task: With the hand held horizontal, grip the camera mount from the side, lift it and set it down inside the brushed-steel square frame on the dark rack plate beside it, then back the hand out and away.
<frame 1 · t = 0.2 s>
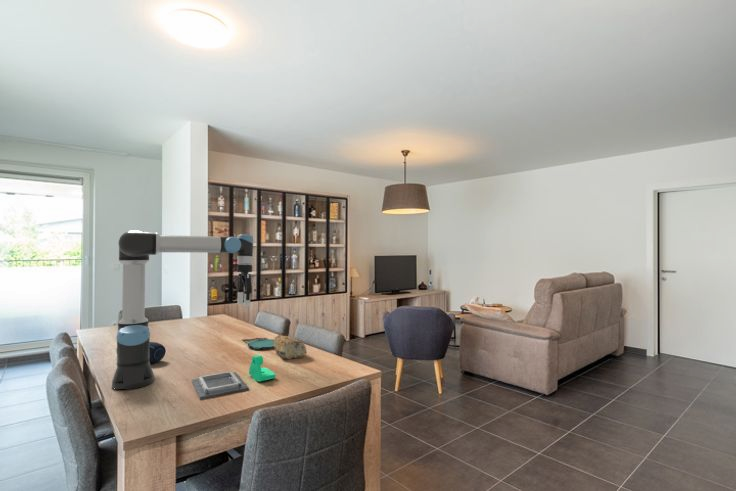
hand: (243, 305, 194), 27 cm above the table, tool pointing down, fingers open, 13 cm apart
camera mount: (262, 378, 165), on the table
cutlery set: (262, 345, 222), on the table
portable speaker: (140, 361, 189), on the table
rack plate: (219, 385, 155), on the table
petrified wood: (288, 355, 199), on the table
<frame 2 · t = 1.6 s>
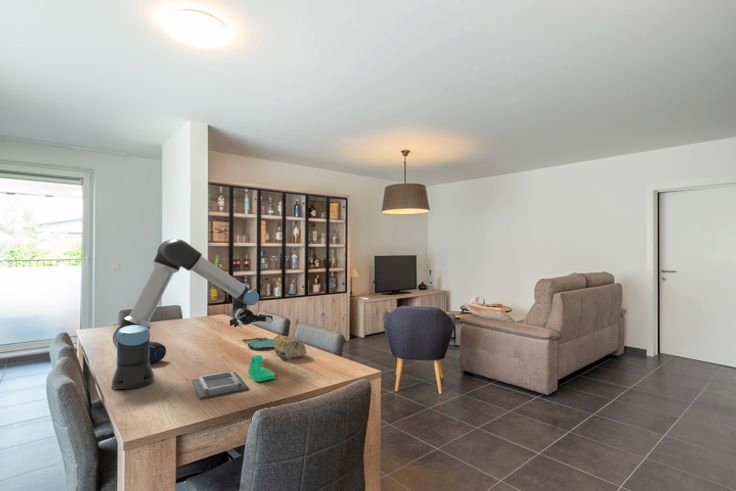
hand: (256, 323, 173), 22 cm above the table, tool horizontal, fingers open, 13 cm apart
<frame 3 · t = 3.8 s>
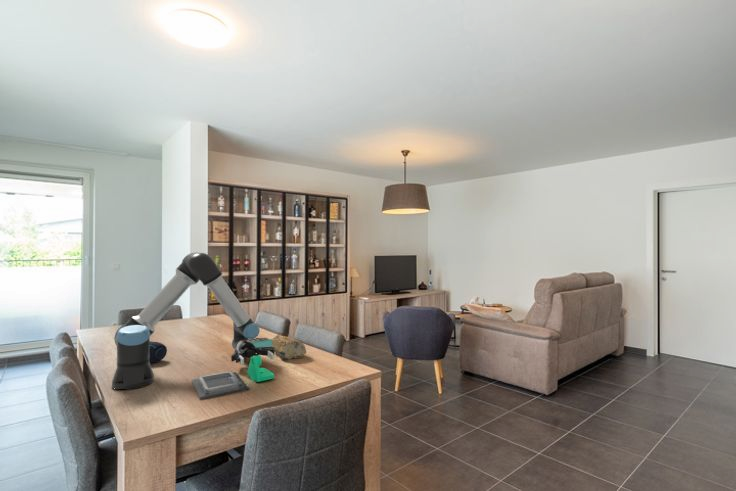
hand: (258, 359, 172), 6 cm above the table, tool horizontal, fingers open, 13 cm apart
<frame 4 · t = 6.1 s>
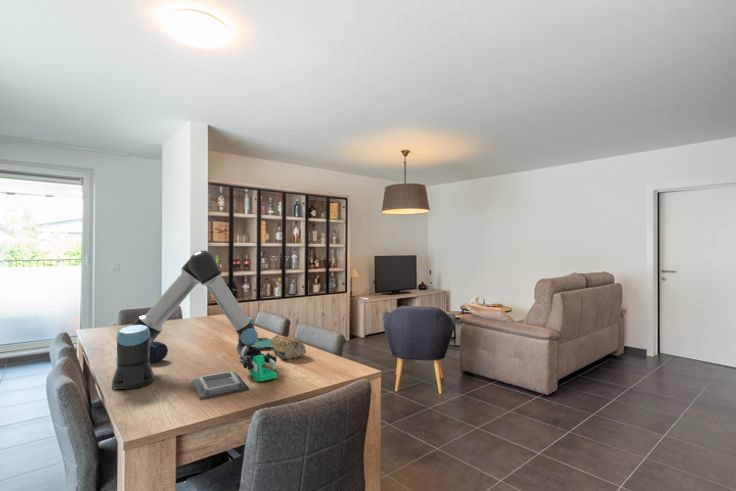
hand: (265, 367, 161), 6 cm above the table, tool horizontal, fingers open, 7 cm apart
camera mount: (263, 378, 164), on the table, touching gripper
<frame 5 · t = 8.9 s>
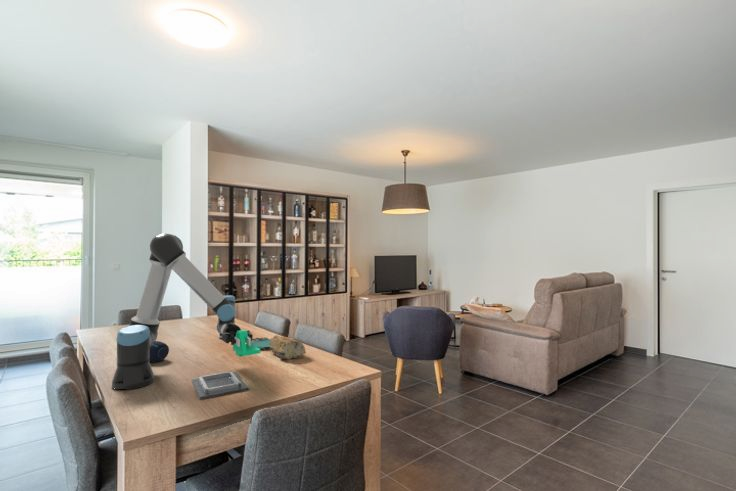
hand: (244, 342, 155), 18 cm above the table, tool horizontal, fingers closed on camera mount, 4 cm apart
camera mount: (246, 354, 160), point 12 cm above the table, touching gripper
when the fingers open (8 cm above the table, at t = 11.5 s): camera mount drops 1 cm, point 1 cm above the table.
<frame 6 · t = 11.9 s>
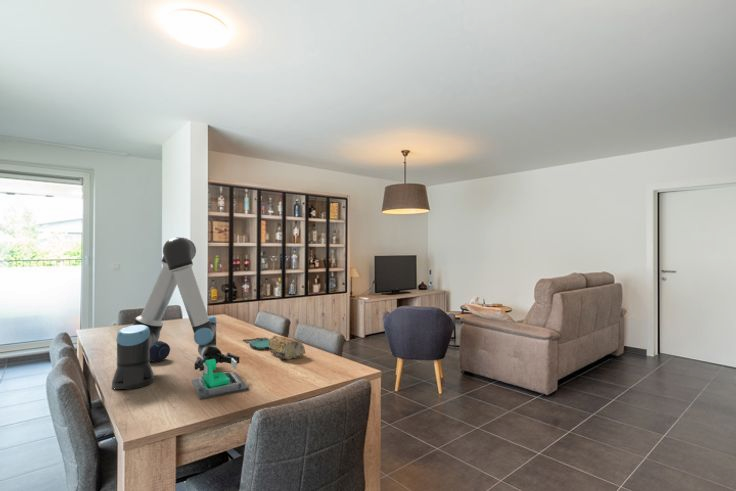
hand: (221, 368, 152), 8 cm above the table, tool horizontal, fingers open, 10 cm apart
camera mount: (216, 384, 154), point 1 cm above the table, touching gripper
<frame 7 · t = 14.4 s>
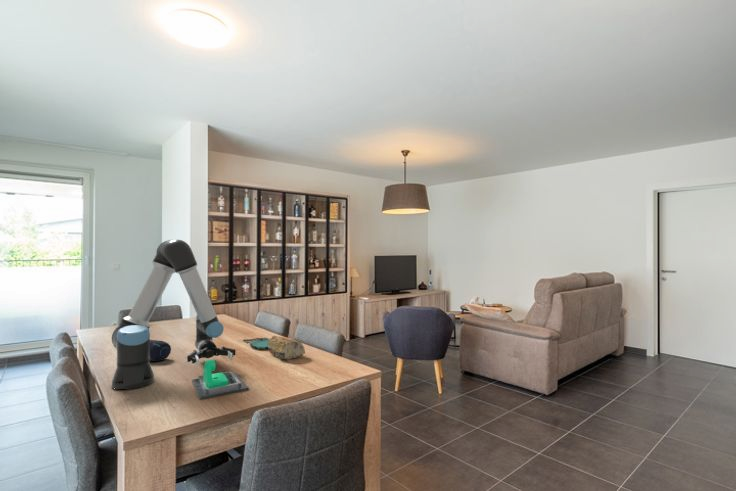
hand: (215, 359, 162), 9 cm above the table, tool horizontal, fingers open, 13 cm apart
camera mount: (215, 385, 154), point 1 cm above the table, touching rack plate
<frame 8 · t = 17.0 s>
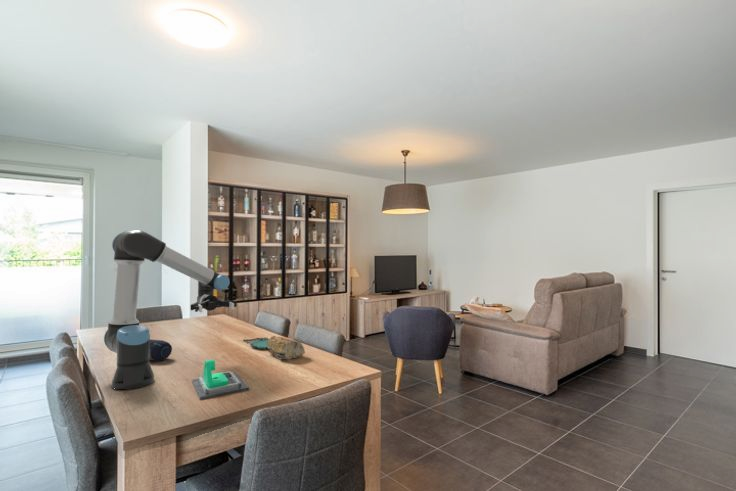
hand: (217, 307, 169), 30 cm above the table, tool horizontal, fingers open, 13 cm apart
at the end: camera mount 1.6 cm off-centre on the rack plate, point 0.8 cm above the rack plate's base; camera mount tilted 0°; the gripper is holding nothing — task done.
